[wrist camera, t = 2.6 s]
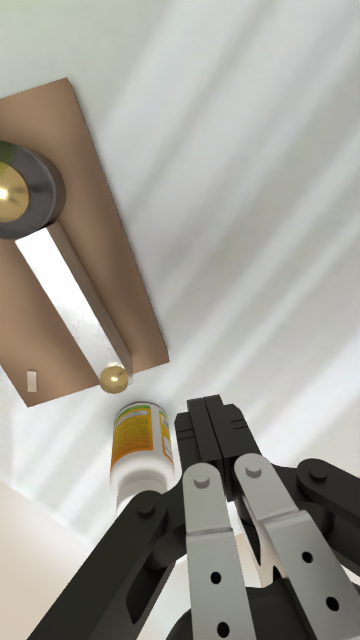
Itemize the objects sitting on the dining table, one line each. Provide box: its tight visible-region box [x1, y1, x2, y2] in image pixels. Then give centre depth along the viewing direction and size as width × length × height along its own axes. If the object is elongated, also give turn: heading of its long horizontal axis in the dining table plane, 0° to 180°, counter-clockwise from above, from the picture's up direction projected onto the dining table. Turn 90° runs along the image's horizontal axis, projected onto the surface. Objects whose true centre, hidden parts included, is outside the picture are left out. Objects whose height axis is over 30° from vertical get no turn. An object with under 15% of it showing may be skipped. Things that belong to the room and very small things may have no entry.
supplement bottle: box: [110, 403, 175, 517], centre depth 28 cm, size 5×5×10 cm
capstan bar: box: [0, 140, 133, 394], centre depth 21 cm, size 17×5×5 cm, turn 21°
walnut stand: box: [0, 77, 170, 407], centre depth 24 cm, size 13×21×2 cm, turn 16°
